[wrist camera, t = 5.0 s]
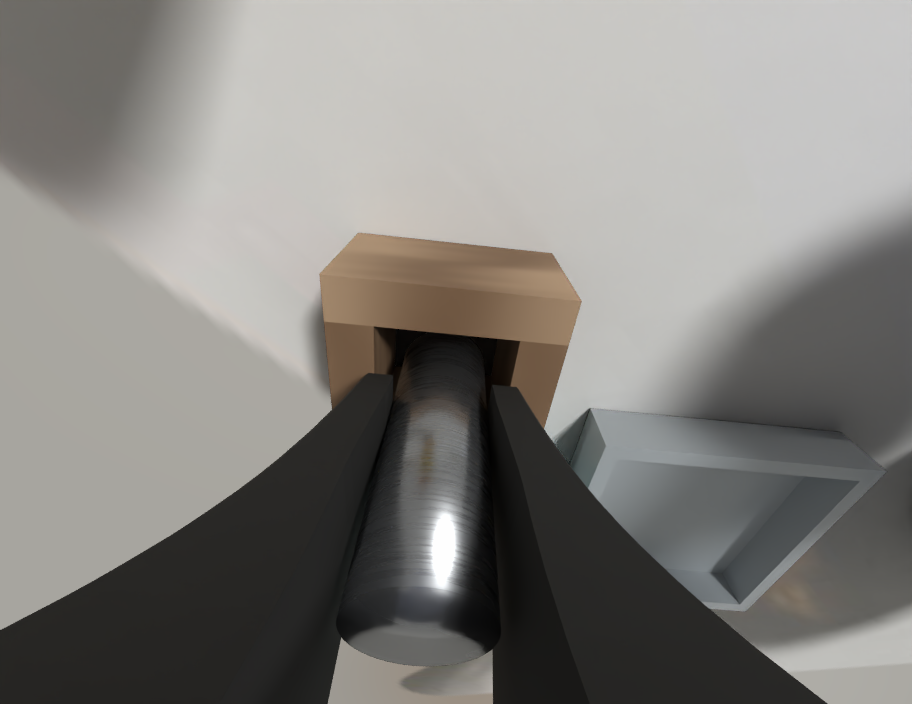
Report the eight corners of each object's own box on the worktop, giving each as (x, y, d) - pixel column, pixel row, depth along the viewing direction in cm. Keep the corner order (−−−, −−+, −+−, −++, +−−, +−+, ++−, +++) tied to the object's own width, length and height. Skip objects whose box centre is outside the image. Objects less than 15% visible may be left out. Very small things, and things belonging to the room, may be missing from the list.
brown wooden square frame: (552, 253, 12) (581, 301, 9) (516, 403, 15) (529, 477, 12) (358, 232, 12) (319, 274, 9) (363, 388, 15) (336, 459, 12)
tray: (840, 432, 15) (887, 471, 14) (722, 570, 21) (745, 611, 19) (590, 408, 15) (606, 445, 13) (536, 555, 20) (542, 595, 19)
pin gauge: (494, 340, 11) (525, 604, 5) (471, 403, 12) (474, 674, 6) (412, 321, 11) (345, 575, 5) (398, 387, 12) (329, 654, 6)
